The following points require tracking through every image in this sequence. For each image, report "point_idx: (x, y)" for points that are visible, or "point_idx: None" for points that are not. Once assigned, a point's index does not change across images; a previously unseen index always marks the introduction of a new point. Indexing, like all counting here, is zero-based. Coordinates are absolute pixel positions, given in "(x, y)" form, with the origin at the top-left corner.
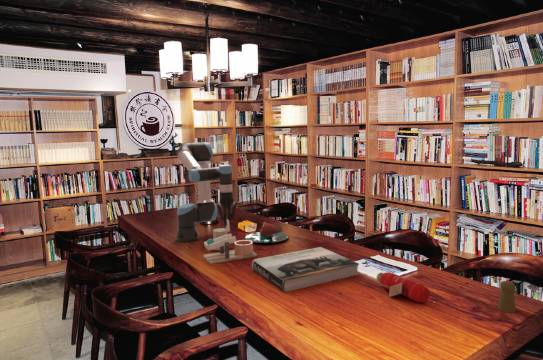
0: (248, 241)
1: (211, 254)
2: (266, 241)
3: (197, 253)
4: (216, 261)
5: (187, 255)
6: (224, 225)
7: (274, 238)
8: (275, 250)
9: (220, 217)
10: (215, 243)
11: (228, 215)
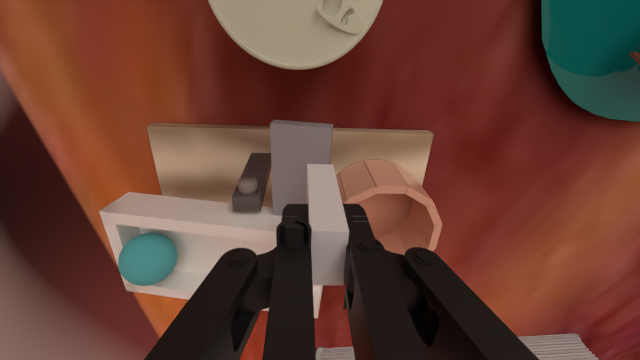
0: (428, 213)
1: (197, 150)
2: (610, 70)
3: (115, 36)
4: None
5: (43, 45)
6: (287, 204)
7: None
8: (526, 209)
9: (210, 278)
10: (179, 296)
11: (355, 329)
